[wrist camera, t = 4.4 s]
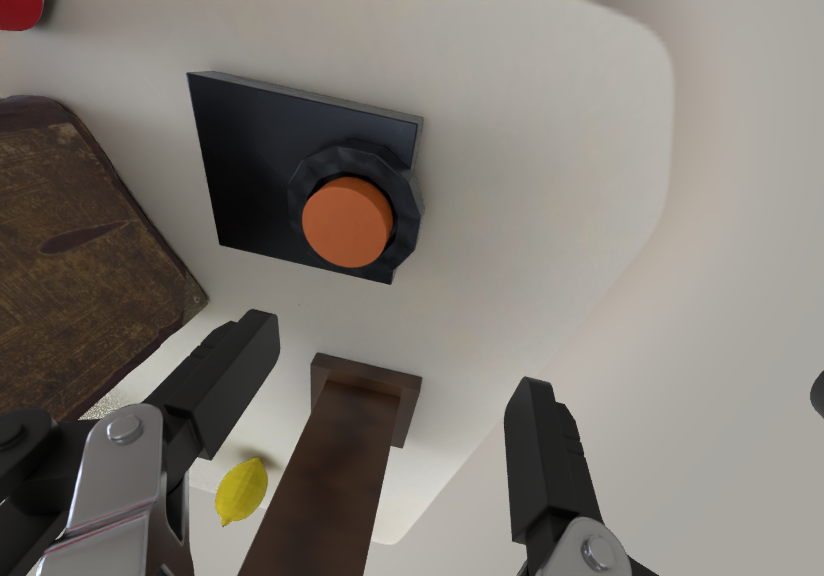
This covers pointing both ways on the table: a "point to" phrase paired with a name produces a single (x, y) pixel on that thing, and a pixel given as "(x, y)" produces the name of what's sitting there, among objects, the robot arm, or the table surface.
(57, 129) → the book
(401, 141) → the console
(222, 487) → the fruit
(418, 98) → the table surface
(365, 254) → the button
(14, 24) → the beverage can
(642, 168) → the table surface
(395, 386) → the pedestal
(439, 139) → the table surface
